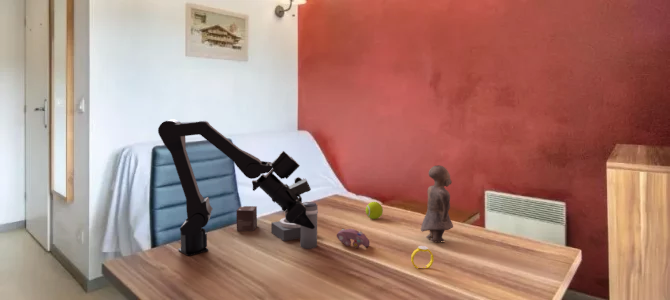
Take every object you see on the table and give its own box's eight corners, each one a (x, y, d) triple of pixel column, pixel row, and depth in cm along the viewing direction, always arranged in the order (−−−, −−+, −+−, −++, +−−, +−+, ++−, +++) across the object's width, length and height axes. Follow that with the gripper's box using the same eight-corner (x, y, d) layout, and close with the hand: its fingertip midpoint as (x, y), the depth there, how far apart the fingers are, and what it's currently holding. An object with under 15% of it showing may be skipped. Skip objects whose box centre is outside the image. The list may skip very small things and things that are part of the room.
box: (253, 231, 139) (253, 210, 138) (236, 230, 139) (236, 210, 138) (257, 226, 145) (257, 206, 144) (240, 225, 145) (240, 205, 144)
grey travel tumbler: (308, 250, 122) (308, 206, 120) (296, 245, 126) (296, 203, 124) (320, 245, 126) (321, 203, 124) (309, 241, 129) (309, 200, 128)
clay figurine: (459, 246, 127) (463, 168, 125) (430, 248, 125) (434, 169, 123) (440, 233, 140) (443, 162, 137) (413, 235, 138) (416, 163, 135)
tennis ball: (362, 216, 159) (363, 200, 158) (378, 215, 161) (378, 199, 160) (369, 221, 153) (369, 204, 152) (385, 220, 155) (385, 203, 154)
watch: (430, 266, 112) (432, 246, 111) (433, 271, 109) (436, 249, 108) (409, 265, 111) (411, 245, 110) (412, 269, 108) (414, 248, 108)
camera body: (283, 241, 129) (283, 226, 129) (271, 232, 138) (271, 219, 137) (316, 235, 136) (316, 221, 135) (302, 227, 144) (302, 214, 144)
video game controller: (337, 248, 128) (333, 232, 125) (343, 238, 131) (339, 222, 128) (366, 254, 124) (362, 237, 120) (371, 244, 127) (368, 227, 123)
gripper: (297, 176, 113) (335, 213, 116) (292, 166, 131) (325, 198, 134) (269, 204, 112) (308, 240, 116) (268, 190, 131) (301, 221, 134)
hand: (312, 223), depth 125 cm, fingers open, 9 cm apart
